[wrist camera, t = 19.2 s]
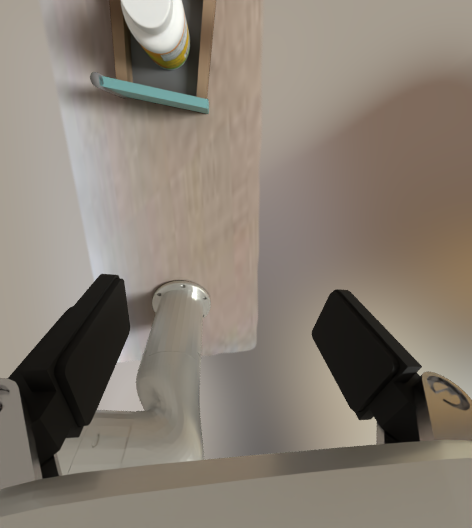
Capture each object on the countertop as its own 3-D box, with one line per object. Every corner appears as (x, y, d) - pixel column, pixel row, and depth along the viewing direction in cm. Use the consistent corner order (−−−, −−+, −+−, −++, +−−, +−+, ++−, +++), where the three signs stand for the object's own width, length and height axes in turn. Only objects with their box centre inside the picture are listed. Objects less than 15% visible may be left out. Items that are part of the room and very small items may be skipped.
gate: (208, 115, 28) (207, 110, 22) (118, 97, 26) (91, 86, 20) (209, 105, 28) (208, 97, 22) (117, 85, 26) (89, 70, 20)
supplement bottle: (132, 22, 23) (87, -42, 15) (173, -8, 22) (150, -92, 14) (161, 80, 26) (138, 54, 17) (199, 56, 25) (192, 17, 17)
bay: (206, 104, 28) (205, 102, 26) (123, 83, 26) (116, 79, 24) (217, -13, 22) (217, -28, 20) (114, -51, 20) (103, -72, 18)
